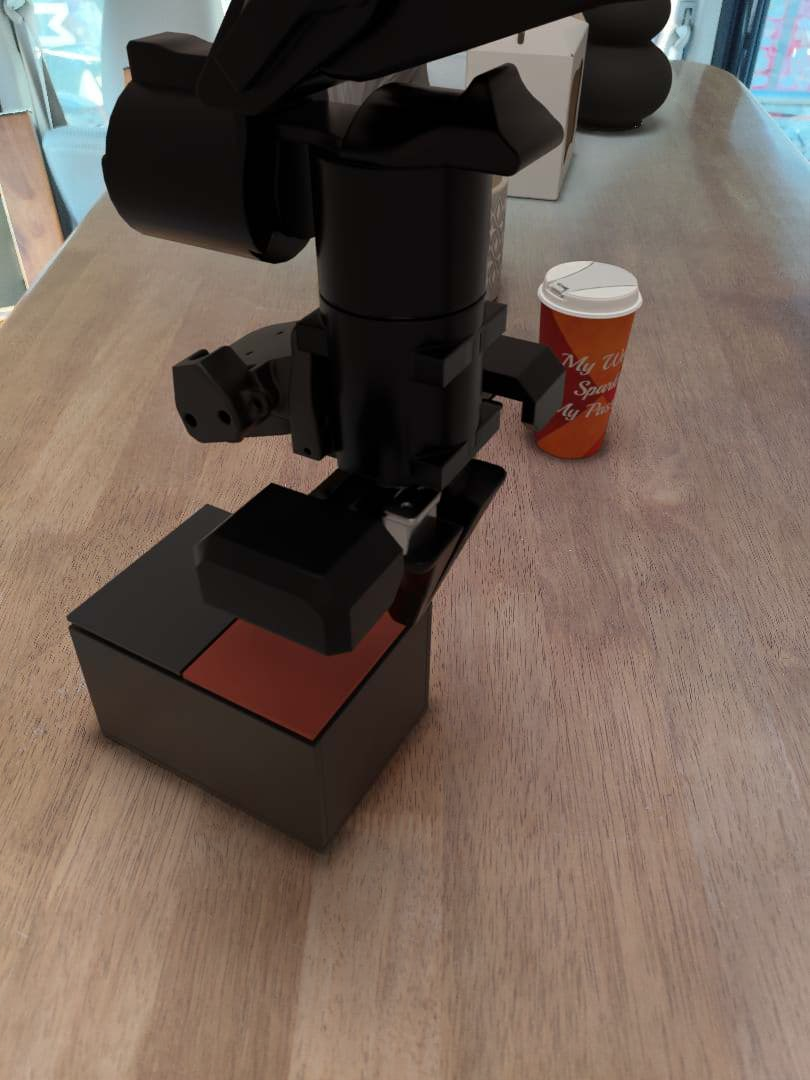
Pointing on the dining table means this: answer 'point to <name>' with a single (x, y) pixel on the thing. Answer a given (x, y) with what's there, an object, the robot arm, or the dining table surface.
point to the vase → (624, 65)
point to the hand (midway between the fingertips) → (406, 619)
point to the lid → (287, 673)
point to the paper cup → (585, 349)
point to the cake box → (542, 91)
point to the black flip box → (221, 725)
